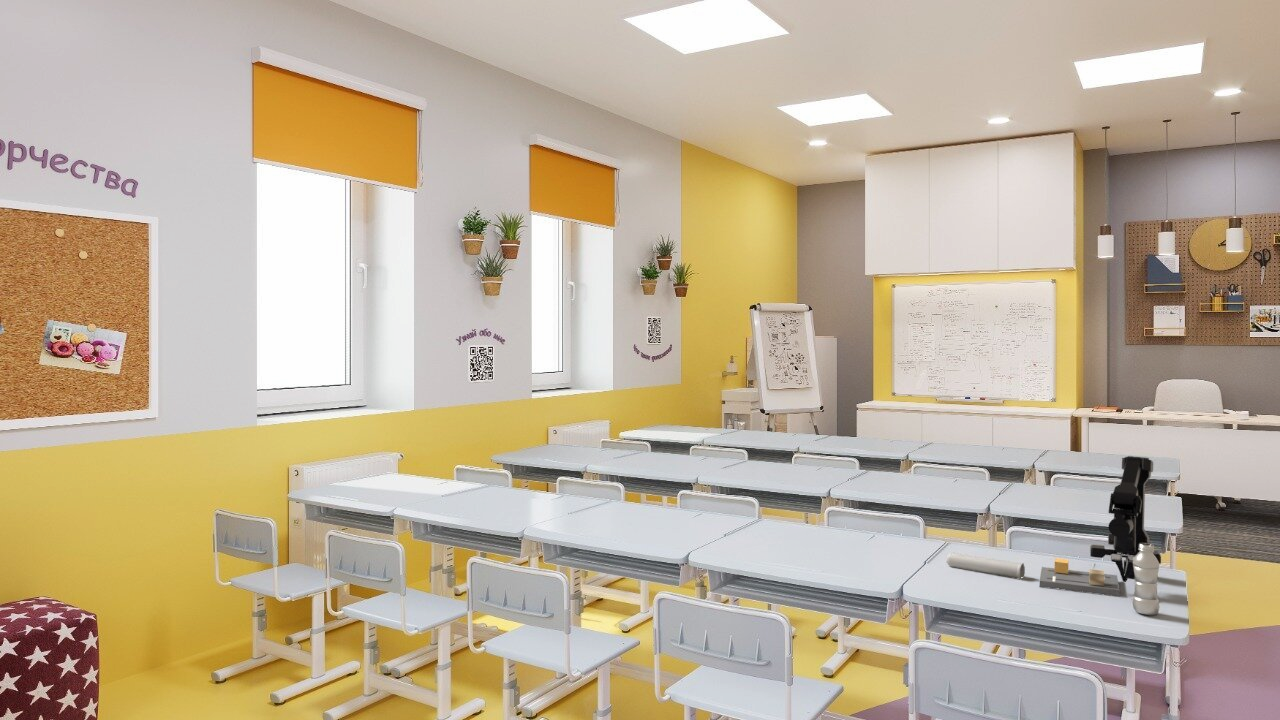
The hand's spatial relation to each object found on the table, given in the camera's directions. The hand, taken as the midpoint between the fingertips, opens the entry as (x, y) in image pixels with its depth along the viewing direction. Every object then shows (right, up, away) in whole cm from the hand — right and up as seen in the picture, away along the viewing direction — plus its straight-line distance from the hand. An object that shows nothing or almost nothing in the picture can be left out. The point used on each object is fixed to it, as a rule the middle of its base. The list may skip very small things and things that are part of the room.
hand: (1124, 581), depth 258 cm
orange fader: (-11, -1, +17) cm, 20 cm away
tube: (-33, -4, +25) cm, 42 cm away
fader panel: (-9, -4, +10) cm, 14 cm away
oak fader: (-7, -1, +3) cm, 8 cm away
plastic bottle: (-5, -4, -19) cm, 20 cm away
